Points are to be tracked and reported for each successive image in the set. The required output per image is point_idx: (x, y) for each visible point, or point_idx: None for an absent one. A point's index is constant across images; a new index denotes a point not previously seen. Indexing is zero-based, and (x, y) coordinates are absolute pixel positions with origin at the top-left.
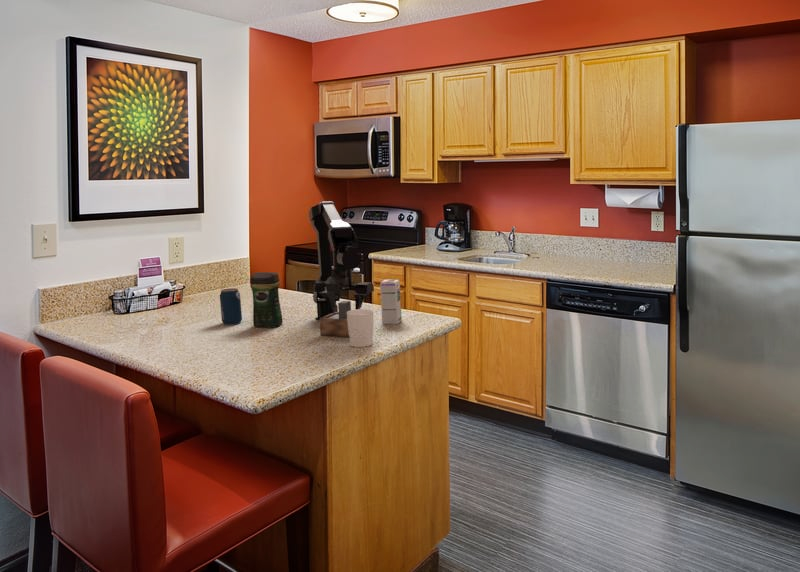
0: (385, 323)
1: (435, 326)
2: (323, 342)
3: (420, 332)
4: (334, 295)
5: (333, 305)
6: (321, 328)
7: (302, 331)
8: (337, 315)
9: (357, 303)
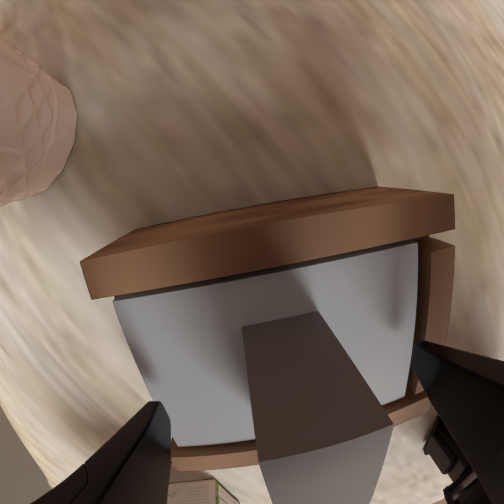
0: (203, 481)
1: (48, 467)
2: (255, 56)
3: (12, 409)
4: (485, 488)
5: (449, 406)
6: (395, 190)
7: (483, 229)
8: (383, 379)
9: (83, 479)
